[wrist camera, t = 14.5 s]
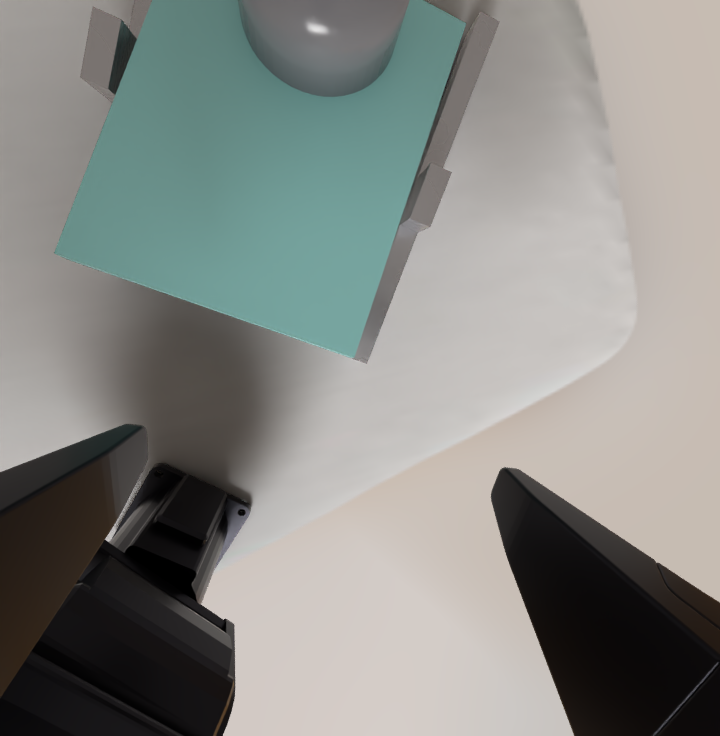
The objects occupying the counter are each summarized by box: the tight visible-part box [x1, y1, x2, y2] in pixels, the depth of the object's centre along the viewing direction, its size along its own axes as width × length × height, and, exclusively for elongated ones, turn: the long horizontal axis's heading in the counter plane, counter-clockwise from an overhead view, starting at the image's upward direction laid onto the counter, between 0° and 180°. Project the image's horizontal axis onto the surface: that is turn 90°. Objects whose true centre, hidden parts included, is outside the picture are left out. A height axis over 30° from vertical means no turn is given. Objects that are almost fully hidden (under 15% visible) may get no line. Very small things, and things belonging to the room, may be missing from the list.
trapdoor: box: [54, 0, 466, 358], centre depth 16 cm, size 16×12×2 cm
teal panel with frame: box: [80, 0, 499, 364], centre depth 17 cm, size 17×15×4 cm
